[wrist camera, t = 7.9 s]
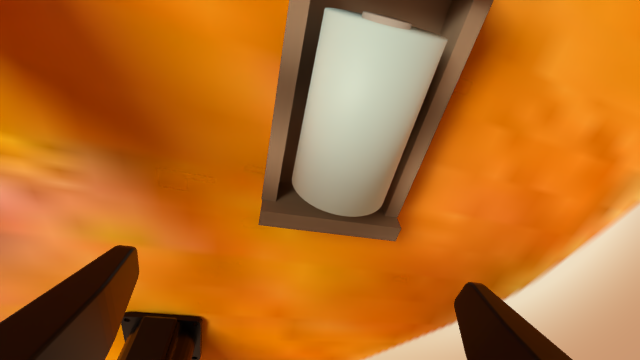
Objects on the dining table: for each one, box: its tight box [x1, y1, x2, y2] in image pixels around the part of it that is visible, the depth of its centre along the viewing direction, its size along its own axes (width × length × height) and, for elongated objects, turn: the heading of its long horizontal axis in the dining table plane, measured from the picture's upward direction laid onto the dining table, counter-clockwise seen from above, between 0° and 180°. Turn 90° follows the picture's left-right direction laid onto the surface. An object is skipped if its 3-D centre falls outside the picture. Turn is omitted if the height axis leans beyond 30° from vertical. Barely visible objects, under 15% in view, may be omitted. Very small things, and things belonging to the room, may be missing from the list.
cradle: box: [259, 0, 493, 241], centre depth 16 cm, size 14×8×4 cm, turn 168°
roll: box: [292, 8, 448, 217], centre depth 15 cm, size 8×5×5 cm, turn 168°
